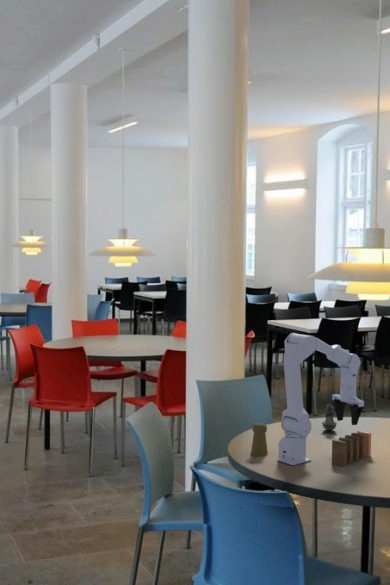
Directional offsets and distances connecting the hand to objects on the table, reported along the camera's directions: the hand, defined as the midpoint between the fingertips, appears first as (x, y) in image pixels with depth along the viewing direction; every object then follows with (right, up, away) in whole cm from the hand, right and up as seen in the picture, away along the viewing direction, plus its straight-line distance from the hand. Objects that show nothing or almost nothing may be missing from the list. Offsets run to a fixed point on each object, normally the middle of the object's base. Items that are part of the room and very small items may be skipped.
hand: (347, 422), depth 300 cm
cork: (-33, -10, -6) cm, 35 cm away
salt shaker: (-2, -8, +27) cm, 28 cm away
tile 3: (-1, -11, -13) cm, 17 cm away
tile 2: (-4, -11, -16) cm, 20 cm away
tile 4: (+2, -11, -10) cm, 15 cm away
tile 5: (+5, -11, -7) cm, 13 cm away
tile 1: (-6, -12, -19) cm, 23 cm away
